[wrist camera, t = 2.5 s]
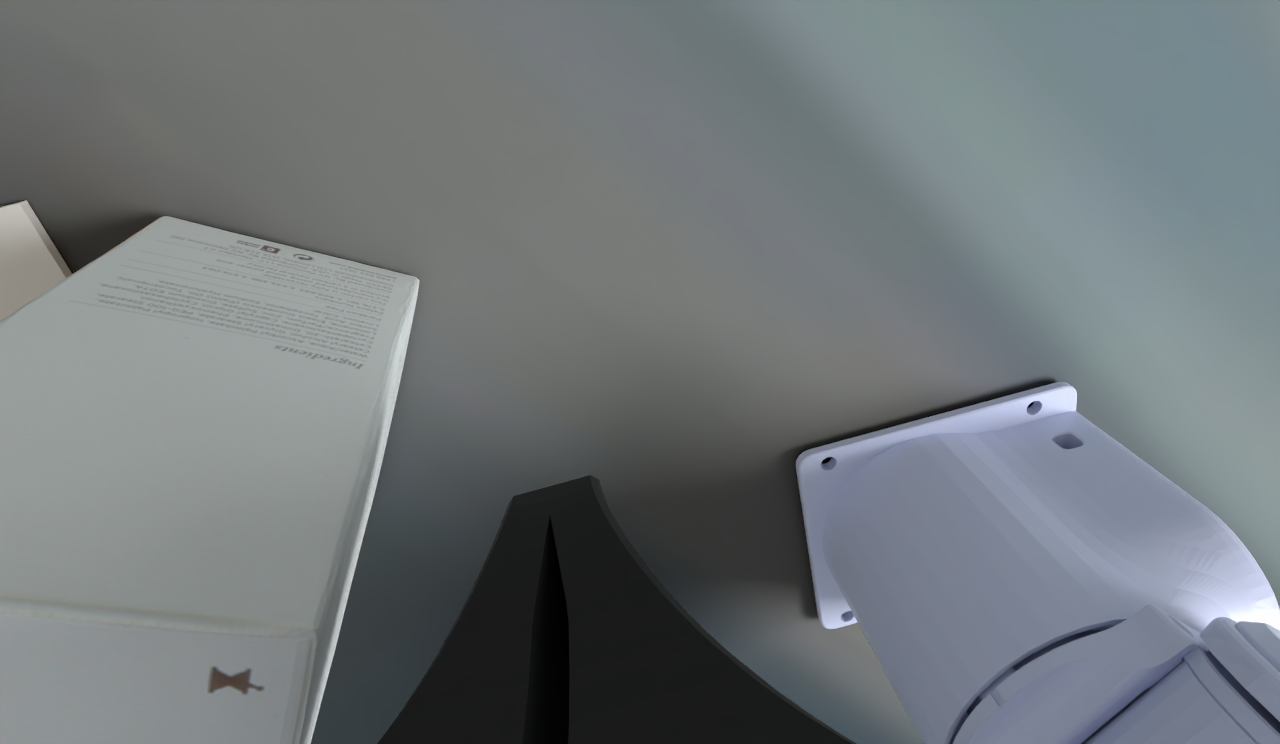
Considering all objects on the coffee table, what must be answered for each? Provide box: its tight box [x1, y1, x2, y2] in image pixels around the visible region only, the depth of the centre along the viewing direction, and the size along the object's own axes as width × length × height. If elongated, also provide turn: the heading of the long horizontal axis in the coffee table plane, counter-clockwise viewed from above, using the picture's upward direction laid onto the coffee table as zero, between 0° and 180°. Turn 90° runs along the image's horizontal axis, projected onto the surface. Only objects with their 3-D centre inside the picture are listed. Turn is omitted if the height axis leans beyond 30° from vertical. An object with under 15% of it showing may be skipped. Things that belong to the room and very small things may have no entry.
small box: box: [0, 216, 419, 744], centre depth 15 cm, size 8×6×13 cm
